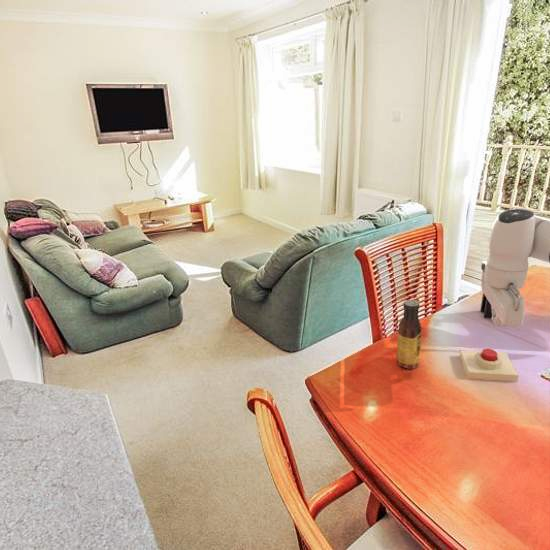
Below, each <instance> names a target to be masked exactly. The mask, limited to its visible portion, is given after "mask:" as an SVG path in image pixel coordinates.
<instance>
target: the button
mask: <svg viewBox="0 0 550 550" xmlns="http://www.w3.org/2000/svg"><path fill="white" fill-rule="evenodd" d="M482 350H483V351H482V356H481V357H482V358H483V359H484V360H487V361H496V359H497V352H498V351H496V350H494V349H491V348H484V349H482Z"/></svg>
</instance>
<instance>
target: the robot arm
mask: <svg viewBox="0 0 550 550" xmlns="http://www.w3.org/2000/svg"><path fill="white" fill-rule="evenodd" d="M488 251H489V255H488V257H487V259H486V261H482V262H481V264H480V265H481V266H480V269H481V271H482V272H481V291H482V294H483V293H484V295H485V296H486V298H487V299H488V301H489V303H490V304H491V309H492V318H491V321H492V323H493V324H494V326H496V327H502V326H503V327H506V328H520V327H521V326H523V322H524V321H523V320H524V314H525V298H524V296H523V295H522V294H521V292H520V291H519V289H522V288H523V287H524V286H525V284H526V280H527V275H528V270H529V258H532V259H536V260H539V261H543V262H545V263H549V264H550V219H548V218H544V217H540V216H537V215H536V214H535V213H534V211H532V210H529V209H527V208H510V209H509V208H508V209H506V210H504V211H501V212H499V213H498V215H497V216H496V218H495V220H494V222H493V226H492V228H491V233H490V237H489V244H488Z"/></svg>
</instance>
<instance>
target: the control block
mask: <svg viewBox="0 0 550 550" xmlns="http://www.w3.org/2000/svg"><path fill="white" fill-rule="evenodd" d="M483 350H484V349H480V350H466V349H465V350H464V349H460V350H459V359H460V361H461V363H462V367H463V369H464V372H465V374H466V377H467V379H471V380H472V379H473V380H485V381H486V380H487V381H499V382H501V381H502V382H514V383H515V382H518V380H519V376H520V375H519V373H518V371H517V370H516V368H515V366H514V364H513V363H512V360H511V359H510V357H509V355H508V353H507V352H503V351H501V352H500V351H496V352H497V359H496V361H487V360H484V359H483V358H482V357H481V356H482V351H483Z"/></svg>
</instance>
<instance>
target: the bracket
mask: <svg viewBox="0 0 550 550" xmlns="http://www.w3.org/2000/svg"><path fill="white" fill-rule="evenodd" d="M481 297H482V298H481V304H480V310H479V311H480V313H483V318H484V319H492V309H491V304H490V303H489V301H488V299H487V298H486V296H485V295H484V293H483V292H482V296H481Z"/></svg>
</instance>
